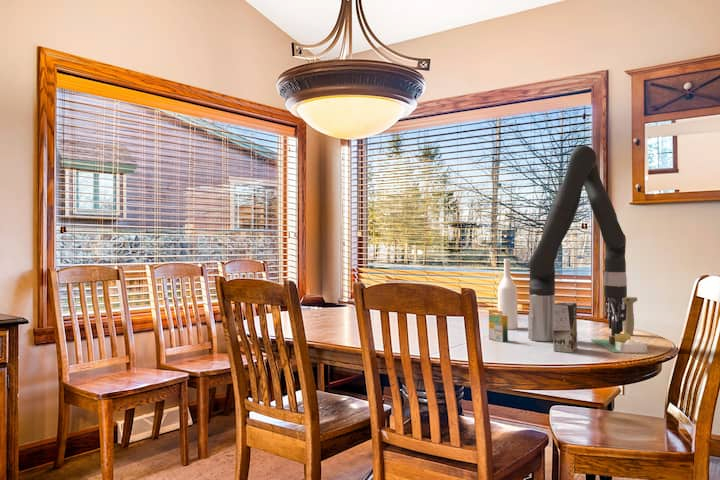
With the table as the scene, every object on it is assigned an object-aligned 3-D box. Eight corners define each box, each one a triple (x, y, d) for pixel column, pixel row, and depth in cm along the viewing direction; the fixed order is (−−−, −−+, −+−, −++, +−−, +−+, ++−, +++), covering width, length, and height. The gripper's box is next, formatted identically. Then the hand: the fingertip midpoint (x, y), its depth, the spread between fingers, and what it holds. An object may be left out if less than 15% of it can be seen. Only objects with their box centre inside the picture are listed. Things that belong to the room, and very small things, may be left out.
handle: (637, 336, 211) (637, 298, 211) (619, 335, 214) (619, 297, 214) (637, 334, 215) (637, 296, 215) (619, 333, 218) (619, 296, 218)
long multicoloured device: (607, 341, 199) (607, 315, 199) (621, 341, 198) (621, 315, 198) (615, 345, 191) (615, 318, 191) (630, 345, 190) (630, 318, 190)
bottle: (519, 329, 230) (519, 259, 230) (500, 329, 230) (500, 259, 230) (514, 326, 238) (513, 258, 238) (496, 326, 238) (495, 258, 238)
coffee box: (572, 353, 183) (572, 305, 183) (553, 351, 186) (552, 304, 186) (577, 348, 190) (577, 302, 190) (558, 346, 194) (558, 301, 194)
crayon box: (508, 341, 204) (508, 310, 204) (502, 342, 203) (502, 311, 203) (494, 338, 211) (493, 308, 211) (488, 339, 209) (488, 309, 209)
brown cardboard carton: (611, 344, 194) (611, 337, 194) (609, 343, 196) (608, 336, 196) (627, 344, 194) (627, 337, 194) (624, 343, 196) (624, 336, 196)
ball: (622, 340, 187) (623, 350, 186) (626, 338, 184) (627, 349, 182) (633, 340, 187) (634, 350, 186) (637, 338, 183) (638, 349, 182)
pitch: (614, 352, 182) (614, 351, 182) (591, 340, 204) (591, 339, 204) (647, 353, 181) (647, 351, 181) (620, 340, 203) (620, 339, 203)
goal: (620, 352, 182) (620, 344, 182) (615, 350, 186) (615, 341, 186) (647, 353, 181) (647, 344, 181) (641, 350, 186) (641, 341, 186)
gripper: (597, 282, 205) (597, 327, 205) (612, 286, 190) (612, 333, 190) (618, 282, 204) (618, 327, 204) (634, 285, 190) (634, 333, 190)
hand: (615, 330), depth 197 cm, fingers open, 6 cm apart
